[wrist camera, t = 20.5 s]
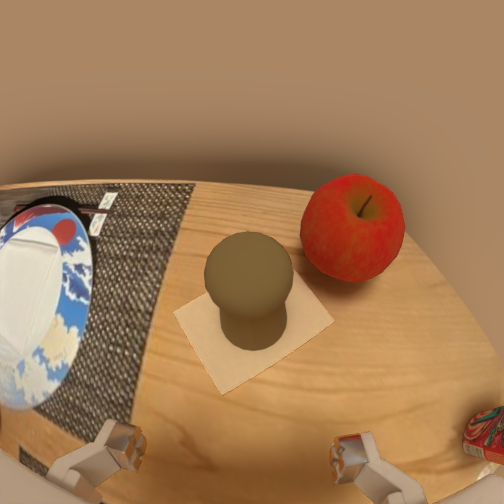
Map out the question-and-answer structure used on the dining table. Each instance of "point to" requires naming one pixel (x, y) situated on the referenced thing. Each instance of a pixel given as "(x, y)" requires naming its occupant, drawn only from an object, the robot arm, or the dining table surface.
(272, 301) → the pepper shaker
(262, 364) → the napkin
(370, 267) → the apple
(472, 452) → the cup
